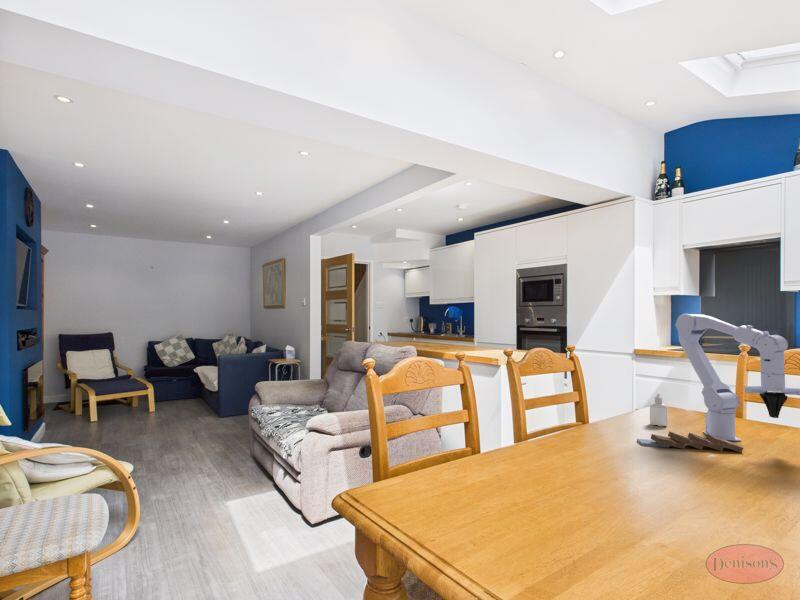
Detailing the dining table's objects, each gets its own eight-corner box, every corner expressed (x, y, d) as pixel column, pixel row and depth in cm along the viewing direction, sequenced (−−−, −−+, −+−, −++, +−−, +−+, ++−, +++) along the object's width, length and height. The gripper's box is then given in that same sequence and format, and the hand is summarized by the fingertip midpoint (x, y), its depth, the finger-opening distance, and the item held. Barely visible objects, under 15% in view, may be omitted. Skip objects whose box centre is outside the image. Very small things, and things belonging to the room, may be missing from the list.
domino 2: (684, 449, 135) (659, 443, 135) (674, 443, 140) (650, 438, 140) (685, 444, 134) (660, 438, 135) (675, 438, 140) (651, 433, 140)
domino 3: (701, 449, 134) (675, 440, 135) (692, 444, 139) (667, 435, 140) (703, 445, 134) (677, 435, 135) (694, 440, 139) (669, 431, 140)
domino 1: (669, 450, 136) (642, 448, 138) (663, 445, 141) (636, 443, 142) (669, 444, 136) (642, 443, 138) (663, 440, 141) (636, 438, 142)
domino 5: (741, 453, 131) (713, 443, 133) (733, 448, 136) (705, 438, 138) (743, 448, 131) (714, 438, 133) (734, 443, 136) (707, 433, 138)
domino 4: (722, 451, 132) (694, 441, 134) (714, 446, 137) (687, 437, 139) (723, 446, 132) (695, 436, 134) (716, 442, 137) (689, 432, 139)
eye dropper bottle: (663, 427, 160) (663, 395, 160) (648, 424, 164) (647, 393, 165) (669, 426, 162) (668, 394, 163) (653, 422, 167) (653, 392, 167)
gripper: (752, 374, 132) (753, 418, 132) (809, 376, 129) (810, 421, 128) (740, 371, 139) (741, 413, 139) (794, 373, 135) (795, 416, 135)
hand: (773, 417), depth 134 cm, fingers closed
